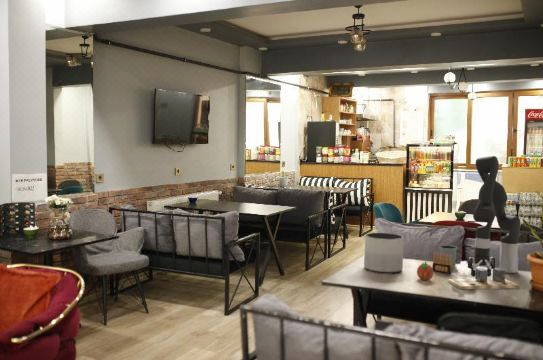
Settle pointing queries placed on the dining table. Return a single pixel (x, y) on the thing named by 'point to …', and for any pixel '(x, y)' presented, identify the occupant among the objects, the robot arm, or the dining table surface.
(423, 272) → the fruit
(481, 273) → the slider
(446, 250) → the grey cup
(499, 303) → the dining table surface
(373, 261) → the planter
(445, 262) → the ammunition clip
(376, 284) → the dining table surface
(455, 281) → the gauge board
